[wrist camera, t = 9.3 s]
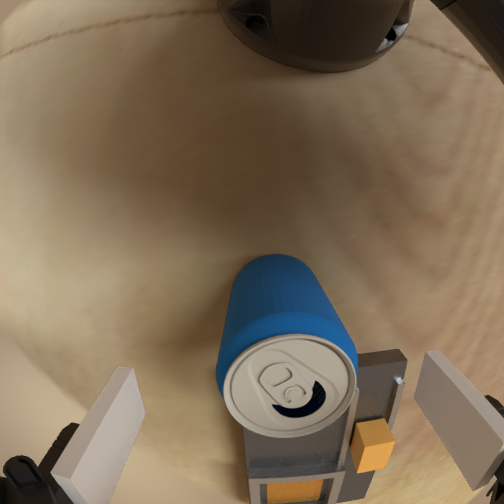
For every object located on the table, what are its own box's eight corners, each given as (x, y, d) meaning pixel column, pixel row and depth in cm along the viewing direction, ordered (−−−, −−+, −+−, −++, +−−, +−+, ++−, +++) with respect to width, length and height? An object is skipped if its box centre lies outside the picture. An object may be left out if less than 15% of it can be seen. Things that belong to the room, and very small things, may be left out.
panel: (239, 361, 25) (237, 387, 22) (398, 348, 25) (414, 369, 21) (250, 498, 30) (250, 519, 27) (360, 487, 30) (366, 506, 26)
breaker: (356, 423, 24) (364, 447, 21) (384, 418, 24) (395, 441, 21) (349, 450, 25) (356, 473, 22) (376, 445, 25) (385, 467, 22)
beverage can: (263, 345, 25) (268, 459, 13) (214, 283, 24) (180, 377, 12) (332, 302, 24) (387, 398, 12) (287, 234, 23) (319, 293, 11)
